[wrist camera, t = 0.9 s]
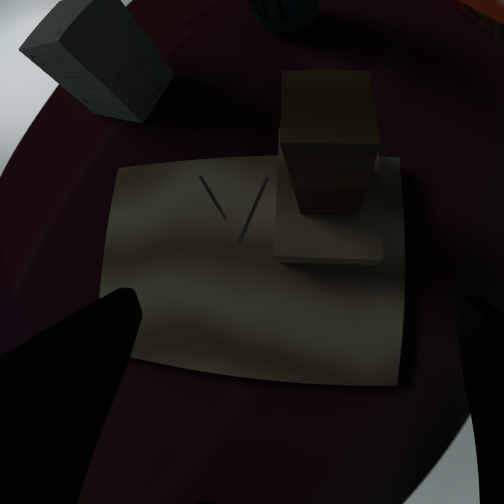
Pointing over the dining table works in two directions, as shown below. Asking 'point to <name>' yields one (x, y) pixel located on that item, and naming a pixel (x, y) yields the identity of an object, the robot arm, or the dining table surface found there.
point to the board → (249, 278)
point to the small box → (100, 57)
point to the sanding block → (328, 170)
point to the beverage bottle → (285, 13)
